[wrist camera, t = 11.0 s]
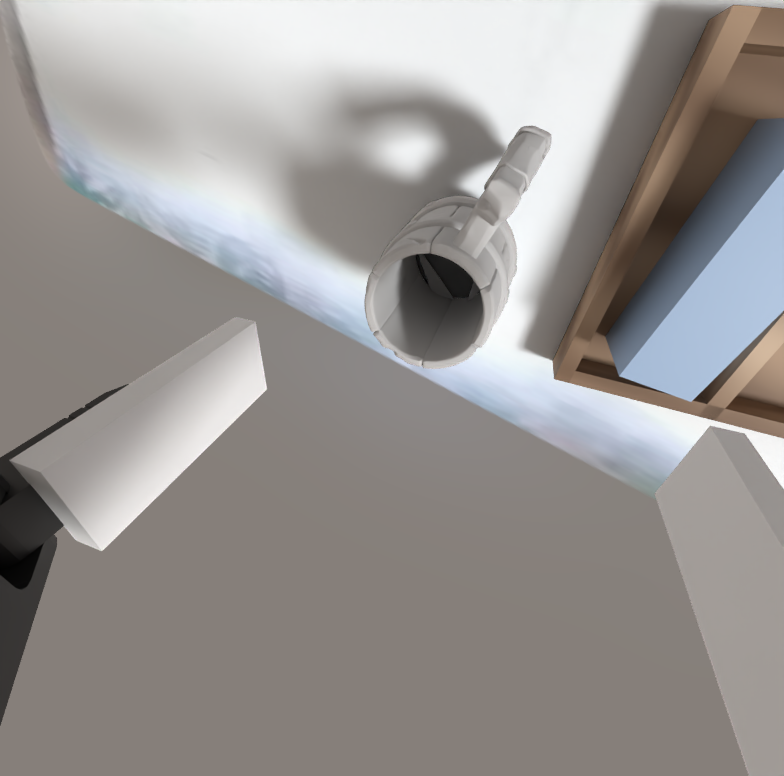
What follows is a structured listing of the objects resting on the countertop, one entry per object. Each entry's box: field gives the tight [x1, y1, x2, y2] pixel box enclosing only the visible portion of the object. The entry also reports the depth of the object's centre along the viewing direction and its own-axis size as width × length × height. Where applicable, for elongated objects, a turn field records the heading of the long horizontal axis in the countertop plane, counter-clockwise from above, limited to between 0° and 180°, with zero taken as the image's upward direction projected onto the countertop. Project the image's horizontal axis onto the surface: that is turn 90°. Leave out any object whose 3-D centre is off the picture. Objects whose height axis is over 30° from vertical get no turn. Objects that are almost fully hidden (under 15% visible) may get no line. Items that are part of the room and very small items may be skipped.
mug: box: [365, 126, 551, 369], centre depth 19 cm, size 8×12×12 cm, turn 153°
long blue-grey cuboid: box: [605, 118, 784, 402], centre depth 18 cm, size 12×4×5 cm, turn 167°
